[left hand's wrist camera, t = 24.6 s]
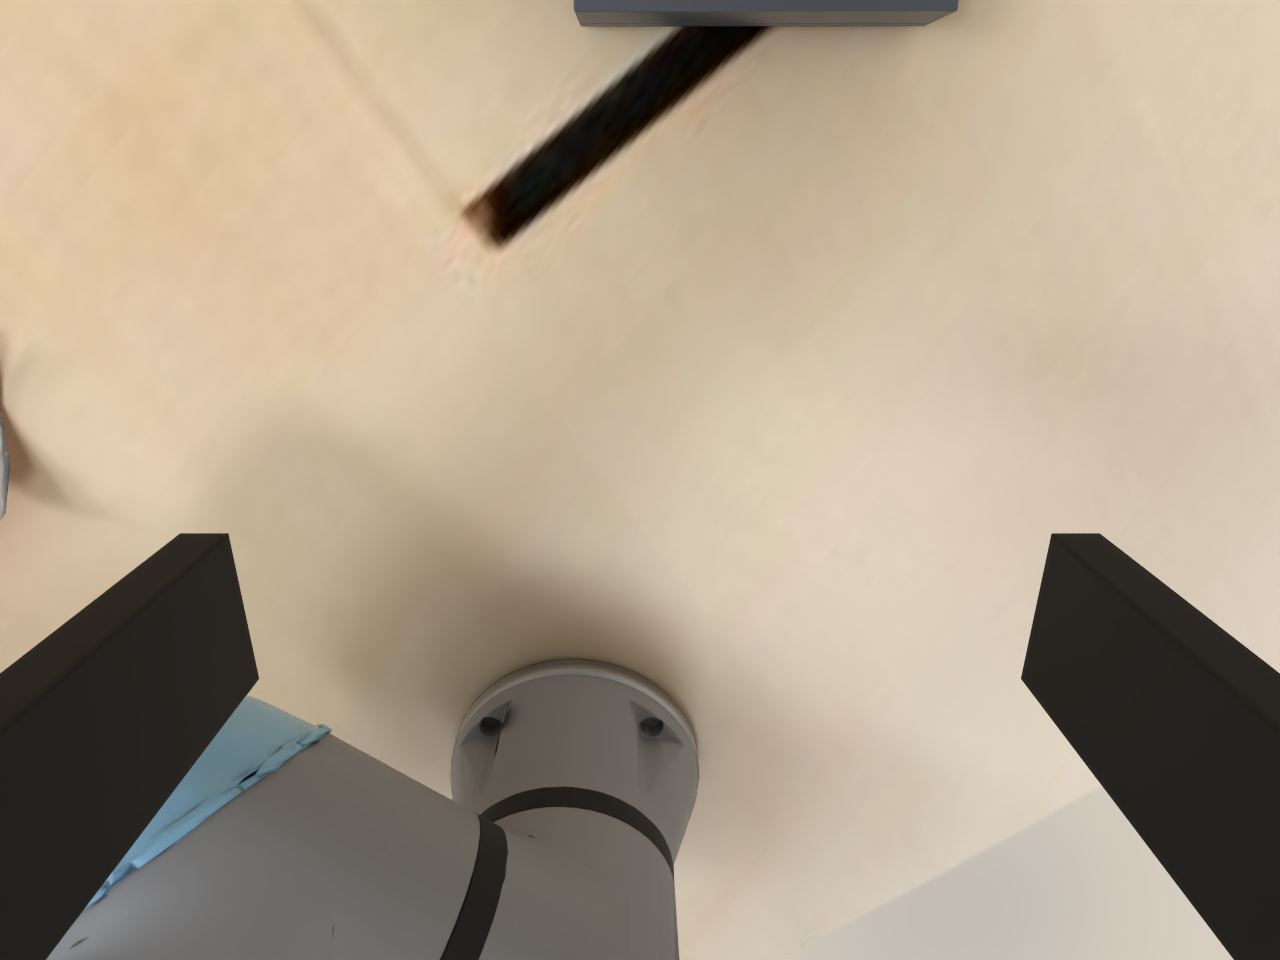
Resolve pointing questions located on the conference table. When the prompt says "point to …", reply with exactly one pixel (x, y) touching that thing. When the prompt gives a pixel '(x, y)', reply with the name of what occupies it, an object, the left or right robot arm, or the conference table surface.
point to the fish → (3, 470)
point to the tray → (761, 12)
